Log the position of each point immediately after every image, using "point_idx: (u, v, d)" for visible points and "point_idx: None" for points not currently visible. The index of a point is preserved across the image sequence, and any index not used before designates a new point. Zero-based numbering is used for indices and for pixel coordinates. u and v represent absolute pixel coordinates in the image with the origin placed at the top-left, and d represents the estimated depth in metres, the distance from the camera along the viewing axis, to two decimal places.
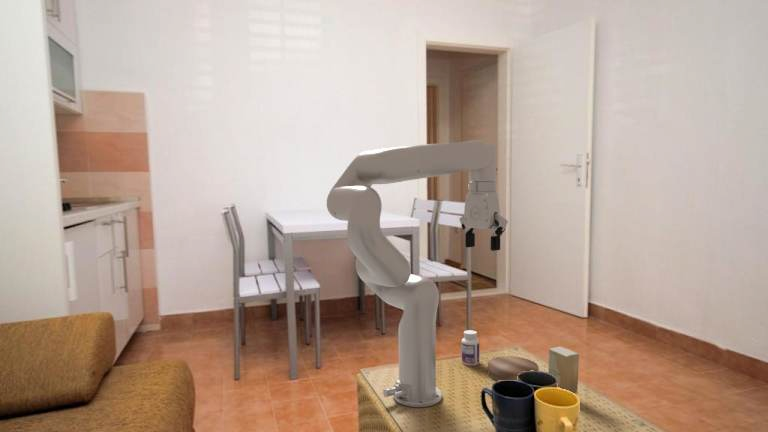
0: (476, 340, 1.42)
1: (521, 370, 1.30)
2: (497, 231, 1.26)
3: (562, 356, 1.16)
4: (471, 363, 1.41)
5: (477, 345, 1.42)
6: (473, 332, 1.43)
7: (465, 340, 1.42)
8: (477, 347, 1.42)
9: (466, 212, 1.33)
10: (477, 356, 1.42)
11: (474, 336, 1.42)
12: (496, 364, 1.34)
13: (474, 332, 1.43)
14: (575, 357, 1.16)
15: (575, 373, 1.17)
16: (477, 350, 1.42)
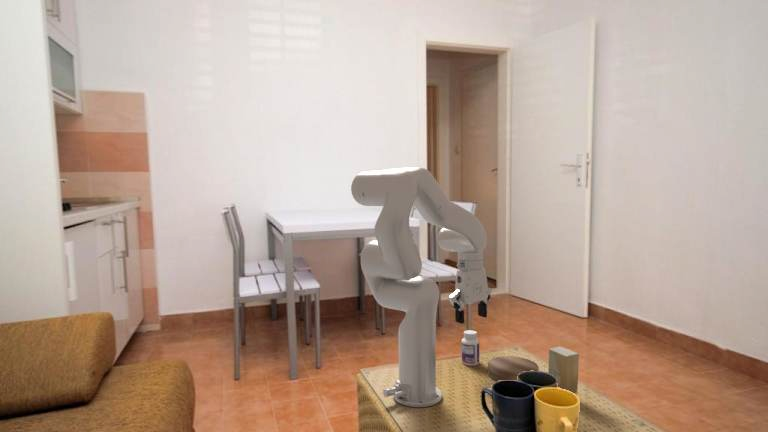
0: (476, 340, 1.42)
1: (521, 370, 1.30)
2: (487, 299, 1.46)
3: (562, 356, 1.16)
4: (471, 363, 1.41)
5: (477, 345, 1.42)
6: (473, 332, 1.43)
7: (465, 340, 1.42)
8: (477, 347, 1.42)
9: (469, 289, 1.39)
10: (477, 356, 1.42)
11: (474, 336, 1.42)
12: (496, 364, 1.34)
13: (474, 332, 1.43)
14: (575, 357, 1.16)
15: (575, 373, 1.17)
16: (477, 350, 1.42)
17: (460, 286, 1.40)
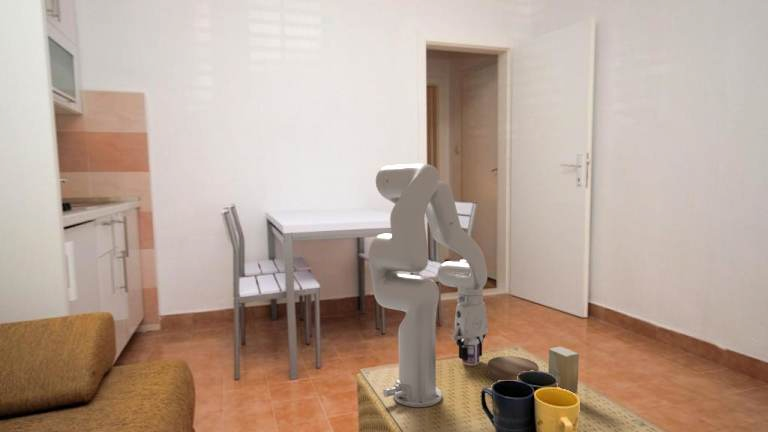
0: (476, 340, 1.42)
1: (521, 370, 1.30)
2: None
3: (562, 356, 1.16)
4: (471, 363, 1.41)
5: (477, 345, 1.42)
6: None
7: None
8: (477, 347, 1.42)
9: (468, 324, 1.39)
10: (477, 356, 1.42)
11: None
12: (496, 364, 1.34)
13: None
14: (575, 357, 1.16)
15: (575, 373, 1.17)
16: (477, 350, 1.42)
17: (460, 321, 1.40)
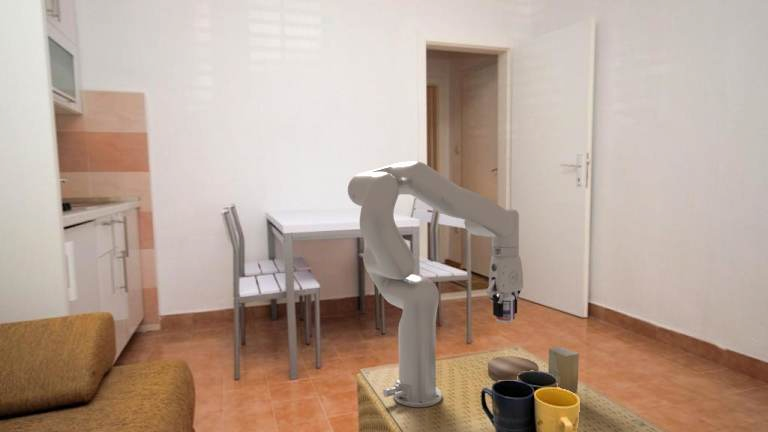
0: (512, 296, 1.33)
1: (521, 370, 1.30)
2: None
3: (562, 356, 1.16)
4: (507, 320, 1.32)
5: (513, 301, 1.33)
6: None
7: None
8: (513, 303, 1.33)
9: (505, 278, 1.30)
10: (513, 312, 1.33)
11: None
12: (496, 364, 1.34)
13: None
14: (575, 357, 1.16)
15: (575, 373, 1.17)
16: (513, 306, 1.33)
17: (495, 274, 1.31)
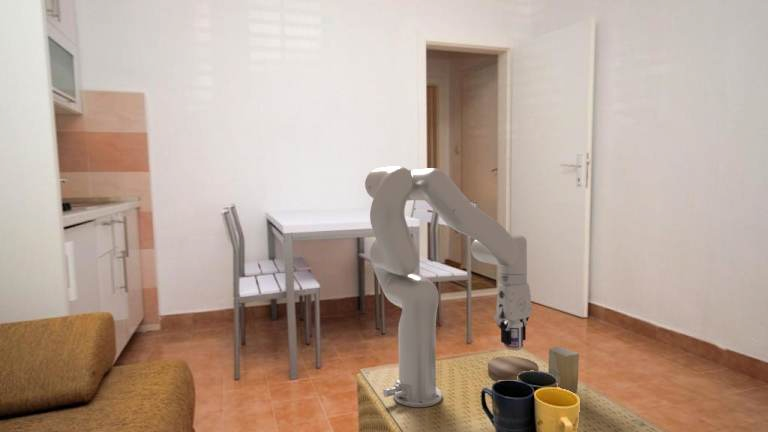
0: (520, 323, 1.32)
1: (521, 370, 1.30)
2: (525, 320, 1.35)
3: (562, 356, 1.16)
4: (515, 347, 1.31)
5: (521, 328, 1.32)
6: None
7: None
8: (521, 330, 1.32)
9: (512, 306, 1.29)
10: (521, 340, 1.32)
11: None
12: (496, 364, 1.34)
13: None
14: (575, 357, 1.16)
15: (575, 373, 1.17)
16: (521, 333, 1.32)
17: (503, 302, 1.30)
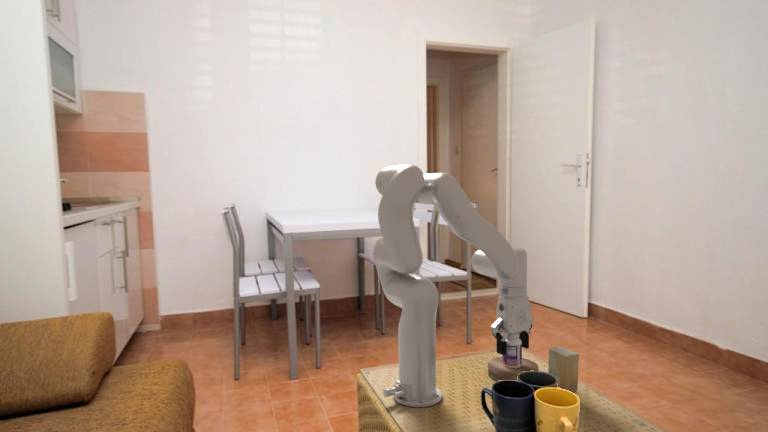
0: (519, 340, 1.32)
1: (521, 370, 1.30)
2: (529, 329, 1.36)
3: (562, 356, 1.16)
4: (513, 365, 1.31)
5: (520, 346, 1.32)
6: None
7: (506, 340, 1.32)
8: (520, 348, 1.32)
9: (512, 318, 1.29)
10: (520, 358, 1.32)
11: (517, 336, 1.32)
12: (496, 364, 1.34)
13: None
14: (575, 357, 1.16)
15: (575, 373, 1.17)
16: (520, 351, 1.32)
17: (503, 314, 1.30)
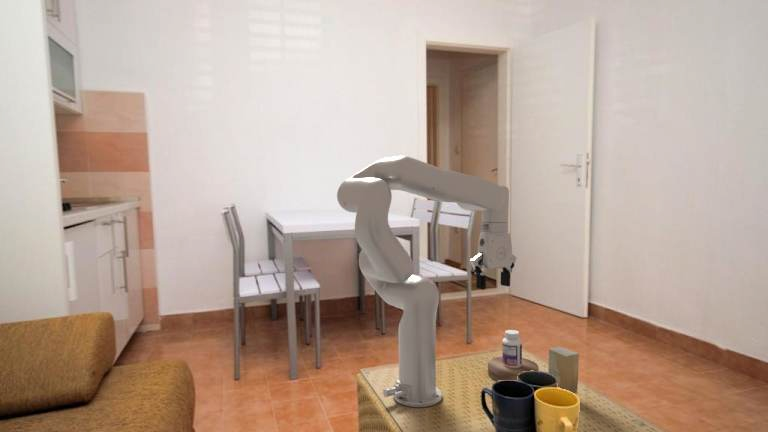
0: (519, 340, 1.32)
1: (521, 370, 1.30)
2: (511, 267, 1.38)
3: (562, 356, 1.16)
4: (513, 365, 1.31)
5: (520, 346, 1.32)
6: (515, 332, 1.33)
7: (506, 340, 1.32)
8: (520, 348, 1.32)
9: (492, 253, 1.31)
10: (520, 358, 1.32)
11: (517, 336, 1.32)
12: (496, 364, 1.34)
13: (516, 332, 1.33)
14: (575, 357, 1.16)
15: (575, 373, 1.17)
16: (520, 351, 1.32)
17: (483, 249, 1.31)
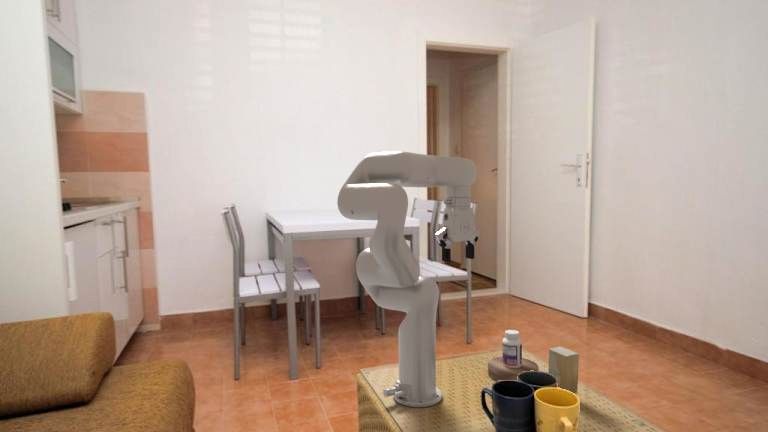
0: (519, 340, 1.32)
1: (521, 370, 1.30)
2: (475, 241, 1.43)
3: (562, 356, 1.16)
4: (513, 365, 1.31)
5: (520, 346, 1.32)
6: (515, 332, 1.33)
7: (506, 340, 1.32)
8: (520, 348, 1.32)
9: (456, 227, 1.36)
10: (520, 358, 1.32)
11: (517, 336, 1.32)
12: (496, 364, 1.34)
13: (516, 332, 1.33)
14: (575, 357, 1.16)
15: (575, 373, 1.17)
16: (520, 351, 1.32)
17: (447, 223, 1.37)
